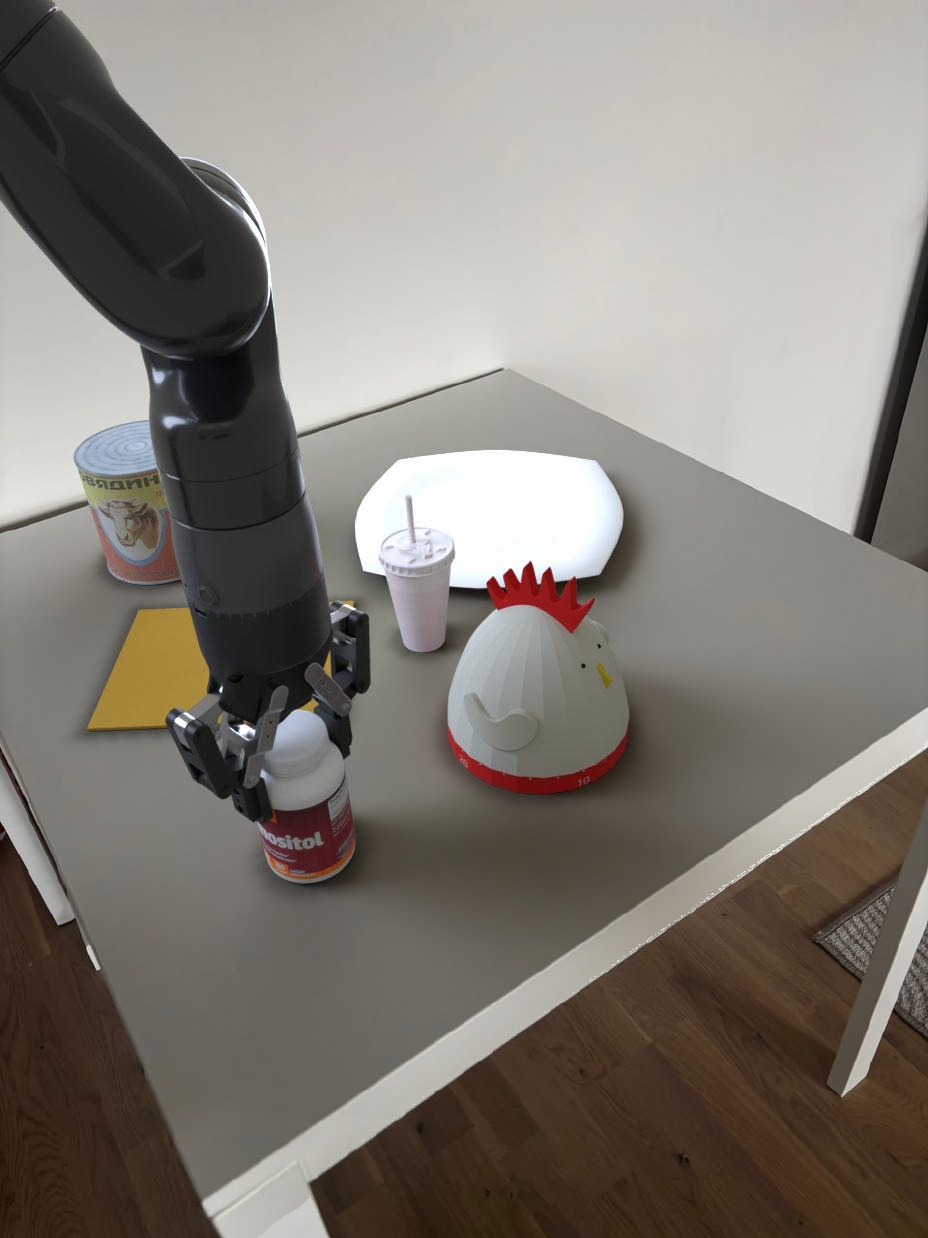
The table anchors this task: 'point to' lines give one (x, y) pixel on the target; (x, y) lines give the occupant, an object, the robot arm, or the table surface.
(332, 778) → the pill bottle
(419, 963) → the table surface
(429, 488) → the plate
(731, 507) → the table surface
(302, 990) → the table surface
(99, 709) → the cloth
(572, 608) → the kitchen timer
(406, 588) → the smoothie
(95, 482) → the canned food
